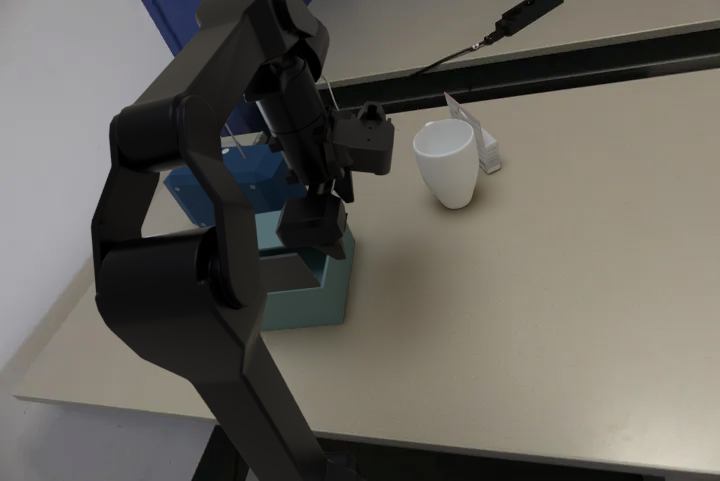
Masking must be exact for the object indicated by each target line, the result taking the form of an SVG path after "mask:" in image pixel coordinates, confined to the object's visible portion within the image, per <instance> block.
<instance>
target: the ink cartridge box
mask: <svg viewBox="0 0 720 481" xmlns="http://www.w3.org/2000/svg"><path fill="white" fill-rule="evenodd" d="M443 93H444V97H445V100H446V103H447V107H448V110H449V113H450V119H458V120H462V121H465V122H467V123H468V124H470V125H471V127H472V128H473V130H474V133H475V138H476V144H477V150H478V156H479V167H480V168H482V169H483V170H484V171H485V172H486V173H487V175H490V174H491V173H493V172H495V171H498V170H500V169H501V159H500V150H499V142H498V140H496V139H495V138H494V137H493V135H492V134H490V133H489V132H487V131H486V130H485V129H484V128H483V127H482V126H481V121H480V120H479V119H477V117H475V115H473V114H472V113H471V112H469V111H468V110H467V109H466V108H465V107H464V106H462V105H461V104H460V103H459V102H457V101H456V99H455V98H453V97H452V96H451V95H449V94H448V93H447V92H446V91H444V92H443ZM460 110H461V111H460Z"/></svg>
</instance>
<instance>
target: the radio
mask: <svg viewBox="0 0 720 481" xmlns="http://www.w3.org/2000/svg"><path fill="white" fill-rule="evenodd" d="M224 127H225V128H226V130H227V131H228V133H229V134H230V136H231V138H232V140H233V142H234V144H235V145H234V146H222V155H223V162H224V164H225V166H226V167H227V169H228V170H229V172H230V173H231V174H232V176H233V177H234V179H235V180H236V182H237V183H238V185H239V186H240V187H241V189H242V190H243V192H244V193H245V195H246V196H247V198H248V199H249V200H250V202H251V203H252V205H253V208H254V211H255V214H261V213H267V212H274V211H280V210H282V207H283V206H284V204H285V202H286V201H287V200H290V199H295V198H301V197H306V195H307V191H308V188H307V186H303V185H301V183H297V184H292V185H288V183H287V181H286V179H285V175H286V171H287V168H288V166H287V164H286V162H285V160H284V158H283V156H282V154H281V152H276V153H272V152H271V150H270V148H269V146H268V143H266V144H251V145H240V144H239V143H238V141H237V139H236V137H235V136H234V134H233V132H232V130H231V129H230V127H229V125H228V122H226V124H225V126H224ZM162 184H163V185H164V186H165V187H166V189H167V191H168V193H170V195H171V196H172V198H173V199H174V200H175V201H176V203H177V204H178V206H179V207H180V208H181V210H182V211H183V213H184V215H185V216H186V217H187V218H188V219H189V221H190V222H191V223H192V224H193V225H195V226H197V227H198V228H202V227H208V226H214V225H215V215H214V205H213V203H212V201H211V200H210V199H209V197H208V196H207V194H206V193H205V191H204V190H203V188H202V187H201V185H200V184H199V182H198V181H197V179H196V178H195V176H194V175H193V173H192V172H191V170H190V169H189V167H188V166H187V167H182V168H178V169H173V170H170V172H169V173H168V174H167V176H166V177H165V178H164V180H162Z"/></svg>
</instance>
